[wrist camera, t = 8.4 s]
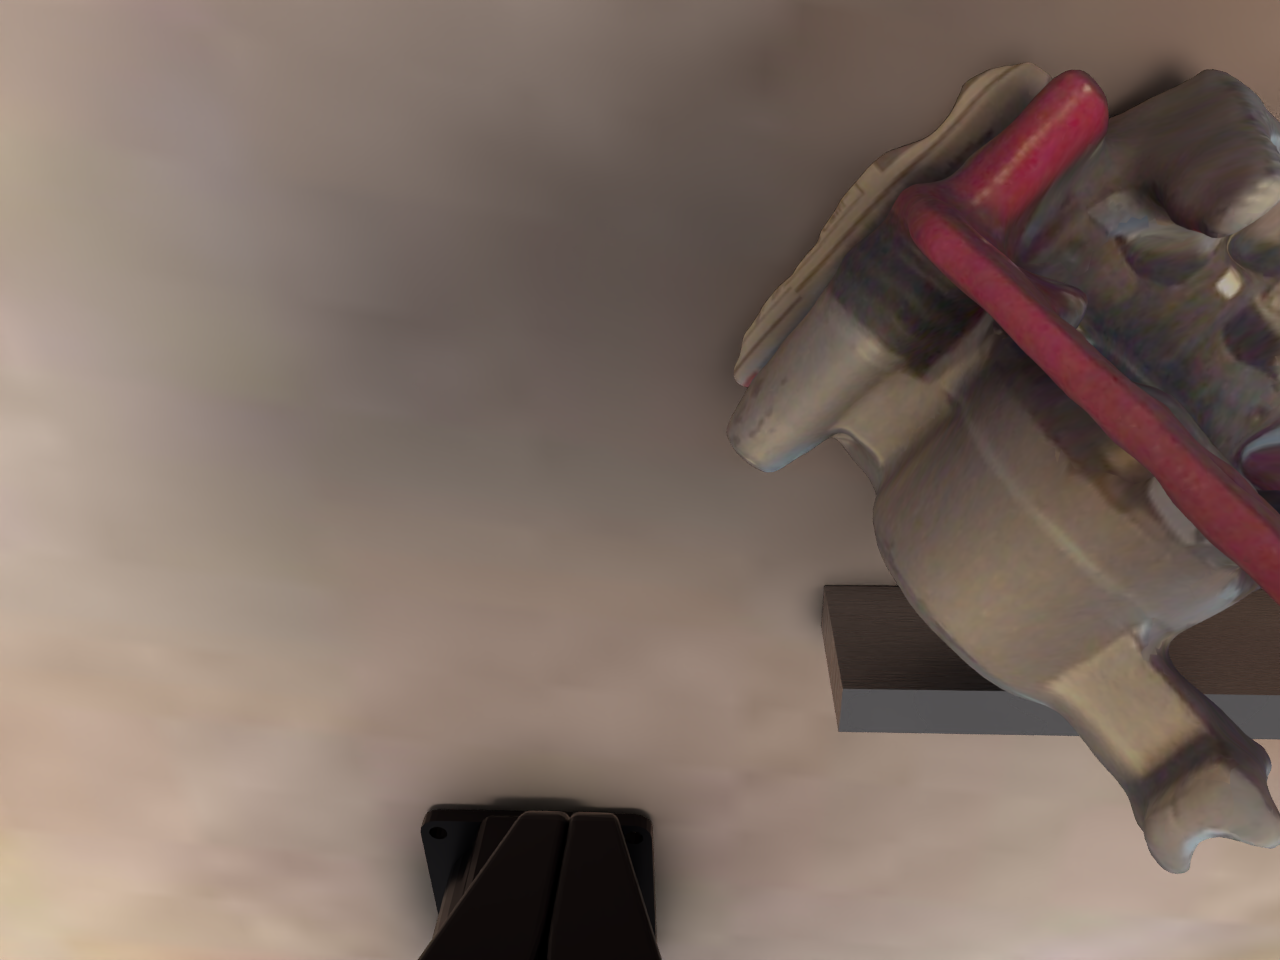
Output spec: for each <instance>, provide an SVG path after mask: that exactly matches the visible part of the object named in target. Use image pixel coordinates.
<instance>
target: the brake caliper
mask: <svg viewBox="0 0 1280 960" xmlns="http://www.w3.org/2000/svg"><path fill="white" fill-rule="evenodd" d="M734 378H735V380H736V382H737V383H738V384H740V385H742V386H745V387H748V389H747V391H746V392H745V394H744V396H743V397H742V399H741V401H740V403H739V404H738V406H737V408H736V410H735V412H734V413H733V415H732V417H731V420H730V422H729V424H728V427H727V432H726V433H727V437H728V439H729V441H730V443H731V445H732V447H733V448H734V450H735V451H736V452H737V453H738V455H740V456H741V457H742V458H743V459H744V460H745V461H746V462H747V463H749V464H750V465H752V466H754V467H755V468H757V469H759V470H761V471H763V472H774V471H777V470H779V469H781V468H783V467H784V466H786V465H787V464H789V463H791V462H792V461H793V460H795V459H797V458H798V457H800V456H801V455H803V454H805V453H807V452H809V451H810V450H812V449H813V448H815V447H816V446H817V445H819V444H820V443H821V442H823V441H824V440H826V439H828V438H830V437H832V438H835V439H837V440H838V441H839V442H840V443H841V444H842V445H843V447H844V448H845V449H846V451H847V452H848V454H849V455H850V456H851V458H852V459H853V460H854V461H855V462H856V464H857V465H858V466H859V467H860V468H861V469H862V470H863V471H864V473H865V474H866V475H867V476H868V478H869V479H870V481H871V483H872V485H873V487H874V489H875V492H876V500H875V503H874V508H873V524H874V529H875V535H876V540H877V545H878V548H879V550H880V553H881V556H882V558H883V560H884V562H885V564H886V567H887V568H888V570H889V571H890V573H891V574H892V576H893V578H894V579H895V581H896V582H897V584H898V585H899V587H900V588H901V590H902V592H903V594H904V595H905V597H906V598H907V600H908V602H909V603H910V605H911V606H912V607H913V608H914V610H915V611H916V612H917V614H918V615H919V616H920V617H921V618H922V619H923V621H924V622H925V623H926V624H927V625H928V626H929V627H930V628H931V629H932V630H933V631H934V632H935V633H936V634H937V635H938V636H939V637H940V638H941V639H942V640H943V641H944V642H945V643H946V644H947V645H948V646H949V647H950V648H951V649H952V650H953V651H954V652H955V653H956V654H957V655H958V656H959V657H960V658H961V659H962V660H964V661H965V662H966V663H967V664H968V665H969V666H971V667H972V668H973V669H974V670H975V671H976V672H978V673H979V674H980V675H981V676H983V677H984V678H985V679H987V680H988V681H990V682H992V683H993V684H995V685H996V686H998V687H999V688H1001V689H1003V690H1005V691H1007V692H1009V693H1011V694H1013V695H1015V696H1017V697H1021V698H1024V699H1027V700H1030V701H1033V702H1036V703H1039V704H1042V705H1045V706H1047V707H1049V708H1051V709H1053V710H1055V711H1056V712H1058V713H1059V714H1060V715H1062V716H1063V717H1064V718H1065V719H1066V720H1067V721H1068V722H1069V724H1070V725H1071V726H1072V727H1073V728H1074V729H1075V731H1076V732H1077V733H1078V734H1079V736H1080V737H1081V738H1082V739H1083V741H1084V742H1085V743H1086V744H1087V746H1088V747H1089V748H1090V750H1091V751H1092V753H1093V754H1094V755H1095V756H1096V757H1097V759H1098V760H1099V761H1100V762H1101V763H1102V764H1103V766H1104V767H1105V768H1106V769H1107V770H1108V771H1109V772H1110V773H1111V774H1112V775H1113V777H1114V778H1115V779H1116V780H1117V781H1118V783H1119V784H1120V785H1121V787H1122V788H1123V789H1124V791H1125V792H1126V794H1127V796H1128V798H1129V800H1130V803H1131V807H1132V810H1133V813H1134V816H1135V819H1136V821H1137V824H1138V825H1139V827H1140V828H1141V829H1142V831H1143V832H1144V837H1145V840H1146V842H1147V846H1148V849H1149V851H1150V853H1151V855H1152V856H1153V857H1154V859H1155V860H1156V862H1157V863H1158V864H1159V865H1160V866H1161V867H1162V868H1163V869H1165V870H1166V871H1168V872H1171V873H1175V874H1179V873H1184V872H1186V871H1188V870H1189V868H1190V861H1191V858H1192V855H1193V852H1194V850H1195V848H1196V847H1197V845H1198V844H1199V842H1201V841H1203V840H1206V839H1209V838H1214V837H1223V838H1229V839H1233V840H1237V841H1241V842H1244V843H1247V844H1250V845H1253V846H1258V847H1264V848H1275V847H1276V846H1278V845H1279V844H1280V813H1279V811H1278V809H1277V807H1276V805H1275V803H1274V802H1273V800H1272V797H1271V795H1270V792H1269V790H1268V786H1267V779H1268V777H1267V776H1268V775H1269V773H1270V771H1271V766H1272V765H1271V761H1270V758H1269V756H1268V754H1267V752H1266V751H1265V749H1264V748H1263V747H1262V746H1261V745H1259V744H1258V743H1257V742H1255V741H1254V740H1252V739H1251V738H1250V737H1249V736H1247V735H1246V734H1245V733H1244V732H1243V731H1242V730H1241V729H1240V728H1239V727H1238V726H1237V725H1236V724H1235V723H1234V722H1233V721H1232V720H1231V719H1230V718H1229V717H1228V716H1227V715H1226V714H1225V713H1224V712H1223V710H1222V709H1220V708H1219V707H1218V706H1217V705H1216V704H1215V703H1214V702H1213V701H1211V700H1210V699H1209V698H1208V697H1207V696H1205V695H1204V694H1203V693H1202V692H1200V691H1199V690H1198V689H1197V688H1196V687H1194V686H1193V685H1192V684H1191V683H1190V682H1189V681H1188V680H1186V679H1185V678H1184V677H1183V676H1182V675H1181V674H1180V673H1179V672H1178V670H1177V669H1176V668H1175V666H1174V665H1173V663H1172V661H1171V658H1170V655H1169V645H1170V642H1171V641H1172V640H1173V639H1174V638H1175V637H1176V636H1177V635H1178V634H1180V633H1181V632H1183V631H1184V630H1186V629H1188V628H1190V627H1192V626H1194V625H1196V624H1198V623H1200V622H1202V621H1204V620H1206V619H1208V618H1210V617H1212V616H1214V615H1215V614H1217V613H1219V612H1221V611H1223V610H1225V609H1226V608H1228V607H1230V606H1232V605H1233V604H1235V603H1237V602H1238V601H1240V600H1241V599H1243V598H1245V597H1246V596H1247V595H1249V594H1251V593H1252V592H1254V591H1256V590H1259V589H1261V588H1262V589H1263V590H1264V591H1265V592H1266V593H1267V594H1268V595H1269V596H1270V597H1271V598H1272V599H1273V600H1274V601H1275V602H1276V603H1277V604H1278V605H1279V606H1280V123H1279V122H1278V121H1277V120H1276V118H1275V117H1274V116H1273V115H1272V114H1271V113H1270V112H1269V111H1268V110H1267V109H1266V108H1265V106H1264V104H1263V102H1262V101H1261V99H1260V98H1259V97H1258V96H1257V94H1256V93H1254V92H1253V91H1252V90H1251V89H1250V88H1248V87H1247V86H1246V85H1244V84H1243V83H1242V82H1240V81H1239V80H1237V79H1236V78H1234V77H1232V76H1231V75H1229V74H1228V73H1226V72H1223V71H1219V70H1214V69H1212V70H1204V71H1202V72H1200V73H1199V74H1197V75H1196V76H1194V77H1193V78H1191V79H1189V80H1187V81H1185V82H1184V83H1182V84H1180V85H1178V86H1176V87H1174V88H1172V89H1170V90H1167V91H1165V92H1163V93H1161V94H1159V95H1157V96H1155V97H1152V98H1150V99H1148V100H1146V101H1145V102H1143V103H1141V104H1139V105H1137V106H1135V107H1133V108H1131V109H1129V110H1128V111H1126V112H1124V113H1122V114H1119V115H1117V116H1114V117H1112V118H1110V119H1109V113H1108V104H1107V100H1106V96H1105V94H1104V92H1103V91H1102V89H1101V88H1100V87H1099V85H1098V84H1097V83H1096V81H1095V80H1094V79H1093V78H1092V77H1091V76H1090V75H1089V74H1087V73H1086V72H1084V71H1081V70H1068V71H1065V72H1064V73H1062V74H1060V75H1058V76H1057V77H1055V78H1054V79H1052V78H1051V76H1050V75H1049V74H1047V73H1046V72H1044V71H1043V70H1042V69H1040V68H1039V67H1038V66H1036V65H1034V64H1031V63H1028V62H1026V63H1022V64H1017V65H1012V66H1004V67H998V68H994V69H990V70H987V71H985V72H983V73H981V74H979V75H977V76H975V77H973V78H971V79H970V80H968V81H967V82H966V83H965V84H964V85H963V87H962V89H961V92H960V94H959V97H958V99H957V102H956V104H955V106H954V108H953V110H952V112H951V113H950V115H949V116H948V117H947V119H946V120H945V121H944V122H943V124H942V125H941V126H940V127H939V128H938V129H937V130H936V131H935V132H934V133H932V134H931V135H930V136H928V137H926V138H925V139H923V140H921V141H918V142H915V143H912V144H910V145H906V146H903V147H900V148H897V149H894V150H891V151H888V152H886V153H885V154H884V155H882V156H881V157H880V158H878V159H877V160H876V161H875V162H874V163H872V165H871V166H870V167H869V168H868V169H867V170H866V171H865V172H864V173H863V174H862V176H861V177H860V178H859V179H858V180H857V181H856V182H855V184H854V185H853V186H852V187H851V188H850V190H849V191H848V192H847V193H846V194H845V195H844V197H843V198H842V199H841V201H840V202H839V205H838V206H837V208H836V210H835V212H834V213H833V215H832V216H831V217H830V219H829V220H828V222H827V223H826V225H825V226H824V227H823V229H822V231H821V233H820V237H819V240H818V242H817V244H816V245H815V247H814V248H813V249H811V250H810V251H809V252H808V253H807V255H806V256H805V257H804V258H803V260H802V261H801V262H800V264H799V265H798V266H797V268H796V270H795V271H794V273H793V274H792V276H791V277H789V278H788V279H787V280H786V281H785V282H784V283H782V284H781V285H780V286H779V287H778V288H777V289H776V290H775V291H774V293H773V294H772V295H771V296H770V298H769V299H768V300H767V301H766V302H765V304H764V305H763V307H762V309H761V311H760V312H759V314H758V316H757V317H756V319H755V321H754V322H753V324H752V325H751V327H750V328H749V329H748V330H747V332H746V333H745V335H744V337H743V341H742V347H741V353H740V357H739V359H738V361H737V363H736V365H735V367H734Z"/></svg>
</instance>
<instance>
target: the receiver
mask: <svg viewBox="0 0 1280 960" xmlns="http://www.w3.org/2000/svg"><path fill="white" fill-rule="evenodd" d="M821 628H822V634H823V640H824V646H825V652H826V658H827V664H828V671H829V677H830V683H831V689H832V695H833V701H834V707H835V713H836V719H837V725H838V731H839V732H888V733H945V734H1002V735H1058V736H1079V734H1078V733H1077V732H1076V731H1075V729H1074V728H1073V727H1072V726H1071V725H1070V724H1069V722H1068V721H1067V720H1066V719H1065V718H1064V717H1063V716H1062V715H1060V714H1059V713H1058V712H1056V711H1055V710H1053V709H1051V708H1049V707H1047V706H1045V705H1042V704H1039V703H1036V702H1033V701H1030V700H1027V699H1024V698H1021V697H1017V696H1015V695H1013V694H1011V693H1009V692H1007V691H1005V690H1003V689H1001V688H999V687H998V686H996V685H995V684H993V683H992V682H990V681H988V680H987V679H985V678H984V677H983V676H981V675H980V674H979V673H978V672H976V671H975V670H974V669H973V668H972V667H971V666H969V665H968V664H967V663H966V662H965V661H964V660H962V659H961V658H960V657H959V656H958V655H957V654H956V653H955V652H954V651H953V650H952V649H951V648H950V647H949V646H948V645H947V644H946V643H945V642H944V641H943V640H942V639H941V638H940V637H939V636H938V635H937V634H936V633H935V632H934V631H933V630H932V629H931V628H930V627H929V626H928V625H927V624H926V623H925V622H924V621H923V619H922V618H921V617H920V616H919V615H918V614H917V612H916V611H915V610H914V608H913V607H912V606H911V605H910V603H909V602H908V600H907V598H906V597H905V595H904V594H903V592H902V590H901V588H900V587H885V586H824V597H823V610H822V622H821ZM1169 655H1170V658H1171V661H1172V663H1173V665H1174V666H1175V668H1176V669H1177V670H1178V672H1179V673H1180V674H1181V675H1182V676H1183V677H1184V678H1185V679H1186V680H1188V681H1189V682H1190V683H1191V684H1192V685H1193V686H1194V687H1196V688H1197V689H1198V690H1199V691H1200V692H1202V693H1203V694H1204V695H1205V696H1207V697H1208V698H1209V699H1210V700H1211V701H1213V702H1214V703H1215V704H1216V705H1217V706H1218V707H1219V708H1220V709H1222V710H1223V712H1224V713H1225V714H1226V715H1227V716H1228V717H1229V718H1230V719H1231V720H1232V721H1233V722H1234V723H1235V724H1236V725H1237V726H1238V727H1239V728H1240V729H1241V730H1242V731H1243V732H1244V733H1245V734H1246V735H1247V736H1249V737H1250V738H1251V739H1280V606H1279V605H1278V604H1277V603H1276V602H1275V601H1274V600H1273V599H1272V598H1271V597H1270V596H1269V595H1268V594H1267V593H1266V592H1265V591H1264V590H1256V591H1254V592H1252V593H1251V594H1249V595H1247V596H1246V597H1245V598H1243V599H1241V600H1240V601H1238V602H1237V603H1235V604H1233V605H1232V606H1230V607H1228V608H1226V609H1225V610H1223V611H1221V612H1219V613H1217V614H1215V615H1214V616H1212V617H1210V618H1208V619H1206V620H1204V621H1202V622H1200V623H1198V624H1196V625H1194V626H1192V627H1190V628H1188V629H1186V630H1184V631H1183V632H1181V633H1180V634H1178V635H1177V636H1176V637H1175V638H1174V639H1173V640H1172V641H1171V642H1170V645H1169Z"/></svg>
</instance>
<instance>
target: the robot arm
mask: <svg viewBox="0 0 1280 960" xmlns="http://www.w3.org/2000/svg"><path fill="white" fill-rule="evenodd" d="M421 836H422V841H423V845H424V850H425V855H426V859H427V864H428V869H429V873H430V878H431V882H432V887H433V892H434V896H435V901H436V906H437V910H438V919H437V923H436V927H435V931H434V934H433V938H432V940H431V942H430V943H429V945H428V946H427V947H426V949H425V950H424V952H423V953H422V955H421V956H420V957H419V959H418V960H662V958H661V955H660V952H659V949H658V945H657V931H656V904H655V876H654V849H653V826H652V823H651V821H650V820H649V819H648V818H646V817H644V816H642V815H638V814H616V813H597V812H577V813H573V812H559V811H488V810H445V809H438V810H432V811H430V812H428V813H427V814H426V815H425V817H424V820H423V823H422V827H421Z"/></svg>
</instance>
